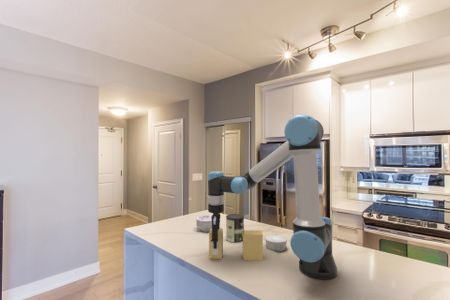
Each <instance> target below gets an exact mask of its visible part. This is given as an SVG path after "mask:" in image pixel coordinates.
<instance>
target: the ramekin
mask: <svg viewBox="0 0 450 300" xmlns="http://www.w3.org/2000/svg"><path fill="white" fill-rule="evenodd" d="M264 241H265V244H266V248H268V249H269V250H272V251H274V252H276V253H277V252H284V251H285V249H286V248H287V242H288V238H287V237H286V236H284V235H280V234H279V235H278V234H269V235H267V236H265V238H264Z"/></svg>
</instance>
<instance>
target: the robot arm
mask: <svg viewBox="0 0 450 300" xmlns="http://www.w3.org/2000/svg"><path fill="white" fill-rule="evenodd" d="M284 137H285V138H286V141H285V142H283V144H280V146H279V147H277V148H276V149H275V150H273V151H272V152H271V153H270V154H268V155H267V156H266V157H264V158H263V159H262V160H261V161H259V162H258V163H256V164H255V165H253V167H252V168H250V169H249V170H248V171H247V172H245V173H244V174H243V175H242V174H241V175H237V176H226V175H225V174H224V172H223V171H219V170H218V171H217V170H215V171H210V172H208V173H207V174H208V177H207V185H208V189H207V190H208V192H207V194H208V195H207V197H206V198H207V199H208V200H207V202H208V204H207V211H208V213H211V214H212V218H211V219H212V240H211V241H212V255H218V229H221V227H220V225H221V214H222V213H224V211H225V207H224V206H225V205H224V203H225V199H224V198H225V194H224V193H229V194H236V195H238V194H239V195H244V194H245V193H247V191H248V190H251V189H252V190H253V188H255V187H256V186H257V184H258V183H259V182H262V180H263V179H265V178H267V177H268V176H269V175H271V174H272V173H273V172H274V171H276V170H278V169H279V168H280V167H282V166H283V165H284V164H286V163H287V162H288V161H290V160H291V159H293V174H294V175H293V176H294V190H295V191H294V192H295V193H294V195H295V207H296V208H295V211H296V216H295V218H294V219H293V220H292V229H293V230H292V233H293V234H292V235H291V238H290V248H291V250H292V252H293V254H294V255H295V256H296V257H297V258H298V259H299V262H298V269H299V271H300V272H301V273H302V274H304V275H305V276H308V277H310V278H311V279H316V280H325V281H326V280H332V279H334V278H336V277H337V276H338V267H337V264H336V261H335V258H334V255H333V223H332V222H333V221H332V219H331V218H329V217H326V216H322V215H321V206H320V204H321V203H320V189H319V172H318V171H319V170H318V156H317V155H318V153H319V152H320V151H321V140H323V137H324V126H323V125H322V123H321V122H320V121H319V120H317V119H315V118H314V117H313V116H311V115H308V114H297V115H294V116H293V117H291V118H290V119H288V121H287V122H286V124H285V126H284Z"/></svg>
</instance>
